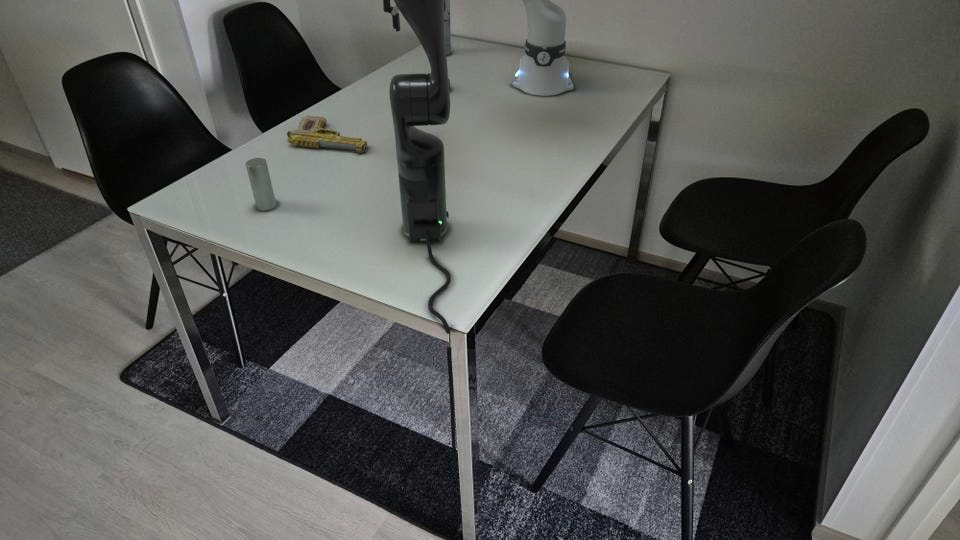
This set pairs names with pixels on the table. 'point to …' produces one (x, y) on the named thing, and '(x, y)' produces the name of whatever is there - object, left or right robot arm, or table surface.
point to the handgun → (322, 136)
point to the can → (261, 184)
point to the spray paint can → (447, 27)
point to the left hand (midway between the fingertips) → (416, 31)
